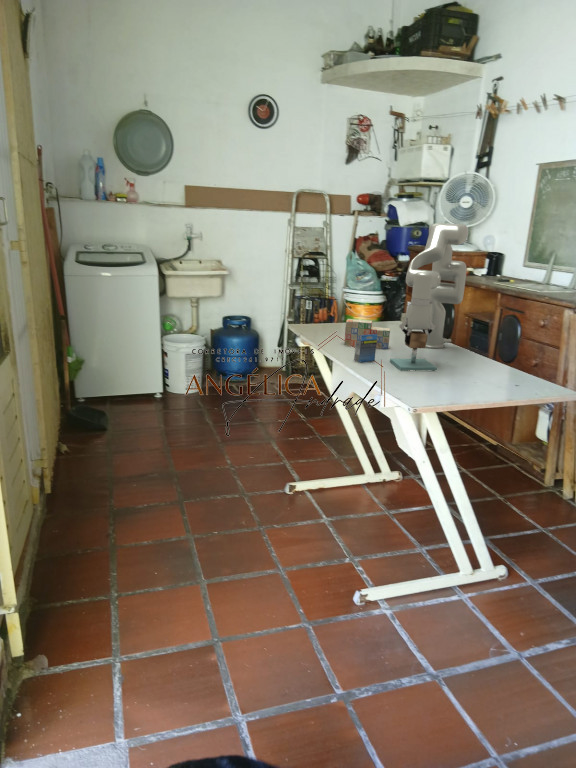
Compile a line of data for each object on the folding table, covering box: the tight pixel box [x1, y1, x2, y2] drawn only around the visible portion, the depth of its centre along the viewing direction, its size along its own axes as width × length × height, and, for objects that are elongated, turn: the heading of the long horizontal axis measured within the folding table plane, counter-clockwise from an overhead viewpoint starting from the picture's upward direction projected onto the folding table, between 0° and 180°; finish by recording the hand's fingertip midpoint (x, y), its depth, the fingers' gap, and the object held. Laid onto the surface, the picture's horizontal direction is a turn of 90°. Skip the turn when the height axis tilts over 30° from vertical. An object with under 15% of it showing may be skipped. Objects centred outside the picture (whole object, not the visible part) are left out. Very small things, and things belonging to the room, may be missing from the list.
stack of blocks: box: [344, 318, 391, 350], centre depth 270 cm, size 21×6×12 cm, turn 77°
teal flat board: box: [389, 358, 438, 372], centre depth 239 cm, size 16×14×2 cm
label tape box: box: [353, 334, 377, 363], centre depth 243 cm, size 9×4×12 cm, turn 119°
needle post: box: [410, 348, 418, 364], centre depth 238 cm, size 2×2×9 cm
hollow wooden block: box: [404, 330, 427, 349], centre depth 236 cm, size 7×7×6 cm
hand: (415, 343), depth 236 cm, fingers closed on hollow wooden block, 6 cm apart
